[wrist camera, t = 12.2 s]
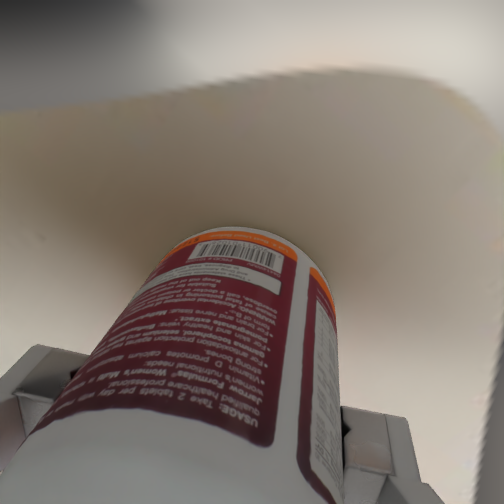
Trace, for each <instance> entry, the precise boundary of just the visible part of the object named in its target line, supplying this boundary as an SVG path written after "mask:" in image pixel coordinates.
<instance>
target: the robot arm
mask: <svg viewBox="0 0 504 504" xmlns="http://www.w3.org/2000/svg"><path fill="white" fill-rule="evenodd" d="M89 356H90V355H86V354H81V353H77V352H72V351H68V350H64V349H59V348H53V347H49V346H44V345H40V344H37V345H35V346H33V347H31V348H30V349H29V350H28V351H27V352H26V353H25V354H24V355H23V356H22V357H21V358H20V359H19V360H18V361H17V362H16V363H15V364H14V365H13V366H12V367H11V368H10V369H9V370H8V371H7V372H6V373H5V374H4V375H3V376H2V377H1V378H0V472H1V471H3V470H4V469H5V467H6V466H7V465H8V463H9V462H10V461H11V459H12V458H13V457H14V455H15V453H16V451H17V450H18V448H19V446H20V445H21V444H22V442H23V441H24V440H25V439H26V438H27V436H28V435H29V433H30V432H31V431H32V430H33V429H34V427H35V426H36V425H37V423H38V422H39V420H40V418H41V417H42V416H43V415H44V414H45V413H46V412H47V411H48V410H49V409H50V407H51V406H52V405H53V403H54V402H55V401H56V399H57V398H58V397H59V396H60V394H61V393H62V391H63V390H64V389H65V387H66V386H67V385H68V383H69V382H70V381H71V380H72V379H73V377H74V376H75V375H76V373H77V372H78V370H79V369H80V368H81V367H82V365H83V364H84V362H85V361H86V360H87V359H88V357H89ZM340 413H341V436H342V462H343V488H344V504H445V503H444V502H443V501H442V500H441V499H440V497H439V496H438V495H437V494H436V493H435V491H434V490H433V489H432V488H431V486H430V485H429V484H427V483H423V482H421V478H420V474H419V469H418V465H417V460H416V456H415V451H414V447H413V442H412V438H411V433H410V429H409V424H408V421H407V420H406V418H404V417H399V416H393V415H388V414H382V413H378V412H372V411H367V410H362V409H357V408H351V407H346V406H341V407H340Z"/></svg>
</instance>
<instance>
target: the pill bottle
mask: <svg viewBox="0 0 504 504" xmlns="http://www.w3.org/2000/svg"><path fill="white" fill-rule="evenodd" d="M0 504H344V488H343V462H342V436H341V413H340V393H339V369H338V343H337V328H336V314H335V306H334V301H333V296H332V293H331V290H330V288H329V285H328V283H327V281H326V279H325V277H324V276H323V274H322V272H321V271H320V270H319V268H318V267H317V266H316V264H315V263H314V262H313V261H312V260H311V259H310V258H309V257H308V256H307V255H306V254H305V253H304V252H303V251H301V250H300V249H299V248H298V247H296V246H295V245H293V244H292V243H290V242H289V241H287V240H286V239H284V238H282V237H280V236H278V235H275V234H273V233H271V232H267V231H263V230H258V229H253V228H248V227H220V228H214V229H209V230H206V231H203V232H201V233H198V234H195V235H193V236H190V237H189V238H187V239H185V240H183V241H182V242H180V243H179V244H178V245H176V246H175V247H174V248H173V249H172V250H171V251H170V252H169V253H168V254H167V255H166V256H165V257H164V258H163V259H162V261H161V262H160V263H159V264H158V266H157V267H156V268H155V270H154V271H153V272H152V273H151V274H150V276H149V277H148V279H147V280H146V281H145V282H144V284H143V285H142V287H141V288H140V289H139V291H138V292H137V293H136V294H135V295H134V297H133V298H132V300H131V301H130V303H129V304H128V305H127V307H126V308H125V309H124V311H123V312H122V314H121V315H120V316H119V317H118V318H117V320H116V321H115V323H114V324H113V325H112V327H111V328H110V329H109V331H108V332H107V334H106V335H105V336H104V337H103V339H102V340H101V341H100V343H99V344H98V345H97V347H96V348H95V349H94V351H93V352H92V353H91V355H90V356H89V357H88V359H87V360H86V361H85V362H84V364H83V365H82V367H81V368H80V369H79V370H78V372H77V373H76V375H75V376H74V377H73V379H72V380H71V381H70V382H69V383H68V385H67V386H66V387H65V389H64V390H63V391H62V393H61V394H60V396H59V397H58V398H57V399H56V401H55V402H54V403H53V405H52V406H51V407H50V409H49V410H48V411H47V412H46V413H45V414H44V415H43V416H42V417H41V418H40V420H39V422H38V423H37V425H36V426H35V427H34V429H33V430H32V431H31V432H30V433H29V435H28V436H27V438H26V439H25V440H24V441H23V442H22V444H21V445H20V446H19V448H18V450H17V451H16V453H15V455H14V457H13V458H12V459H11V461H10V462H9V463H8V465H7V466H6V467H5V469H4V470H3V472H2V473H1V475H0Z"/></svg>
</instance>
